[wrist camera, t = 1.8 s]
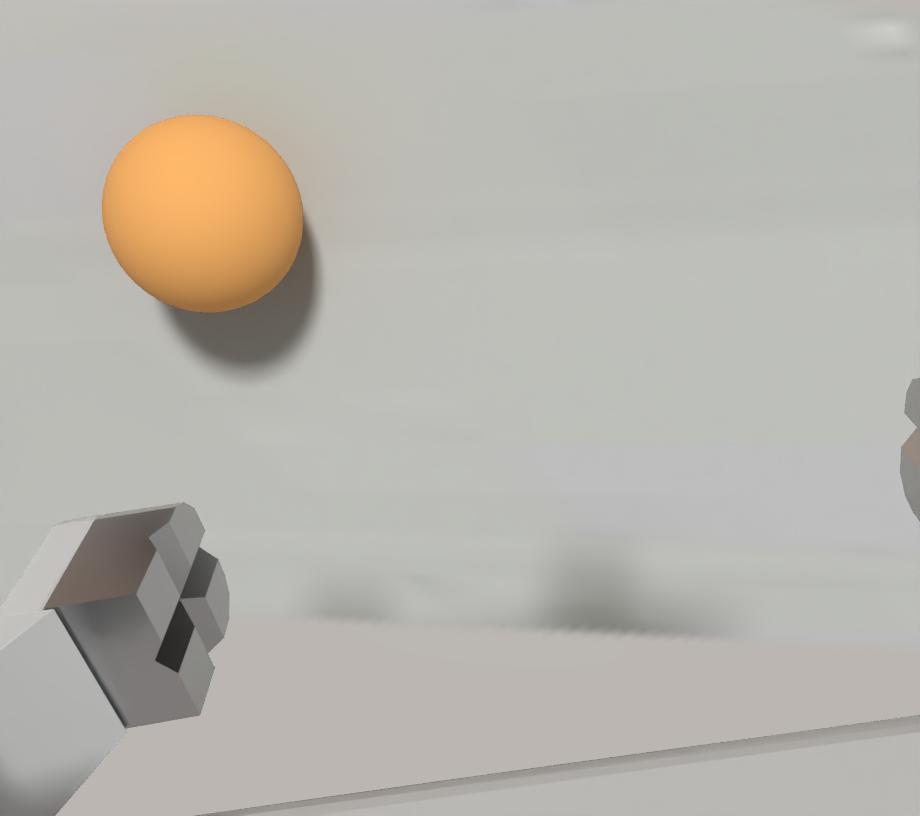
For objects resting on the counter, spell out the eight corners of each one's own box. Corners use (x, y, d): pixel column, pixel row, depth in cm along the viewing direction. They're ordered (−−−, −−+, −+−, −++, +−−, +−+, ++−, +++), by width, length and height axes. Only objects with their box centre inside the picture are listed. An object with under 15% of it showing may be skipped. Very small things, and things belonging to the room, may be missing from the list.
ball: (292, 85, 25) (251, 122, 20) (333, 260, 28) (306, 330, 23) (115, 113, 25) (34, 157, 20) (172, 283, 28) (113, 356, 23)
